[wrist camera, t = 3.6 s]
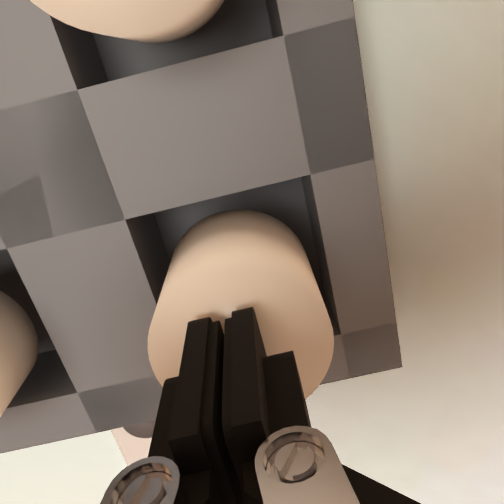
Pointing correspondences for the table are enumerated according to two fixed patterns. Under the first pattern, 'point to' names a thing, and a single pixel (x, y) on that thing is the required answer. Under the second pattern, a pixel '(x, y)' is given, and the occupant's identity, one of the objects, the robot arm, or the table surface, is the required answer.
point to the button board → (176, 190)
